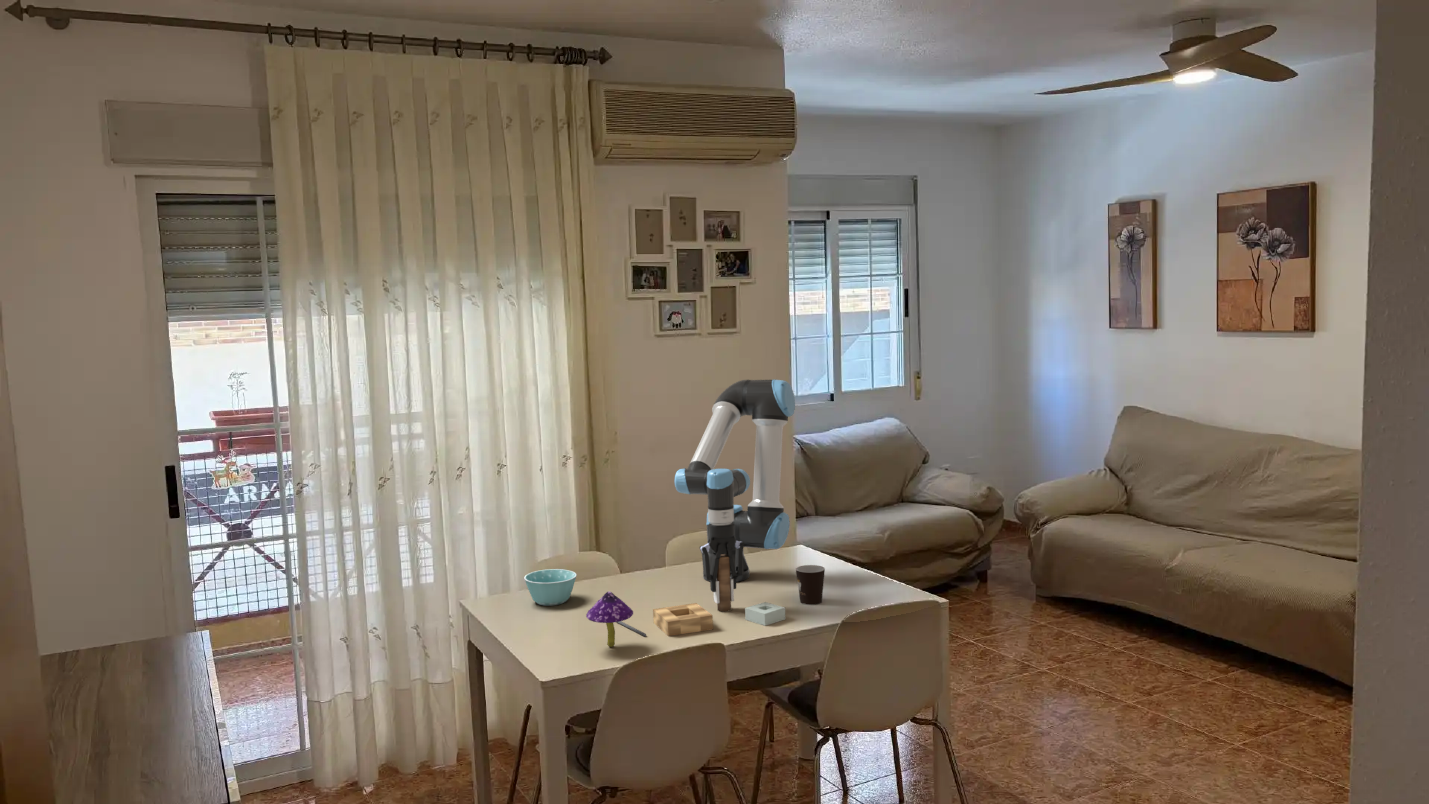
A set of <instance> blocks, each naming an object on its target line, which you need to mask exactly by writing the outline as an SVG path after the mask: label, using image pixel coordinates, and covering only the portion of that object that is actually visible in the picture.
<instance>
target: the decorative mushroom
mask: <svg viewBox="0 0 1429 804" xmlns="http://www.w3.org/2000/svg"><path fill="white" fill-rule="evenodd" d="M585 615H586V616H585V617H586V618H587V619H588V620H589V621H591V622H593V623H599V624H600V623H601V624H605V625H606V629H607V646H608V647H610V648H612V647H614V646H615V645H616V644H615V641H616V629H615V624H614V623H617V622H620V621H622V622H623V621H626V620H629V619H630V618H632V616H633V615H634V611H633V609H632V608H631V607H630V606H628V605H627V604H626V602H624V601H623V600H622V599H621V598H619V597H618V596H616V595H615V593H613V592H612V591H606V592H605V593H604V594H603V595H602V597H600V598H599V599H598V600H597V601H595V603H594V604H593V606H591V608H590V609H589V610H588V611H587V613H586V614H585Z"/></svg>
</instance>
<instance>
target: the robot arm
mask: <svg viewBox="0 0 1429 804" xmlns="http://www.w3.org/2000/svg"><path fill="white" fill-rule="evenodd" d="M795 408H796V397H795V393H794V390H793V387H792V385H791V384H790V383H789V382H788V381H786V380H782V379H781V380H780V379H777V378H776V379H742V380H738V381H736V382H734V383H732V384H731V385H729V386H728V387H727V388H725V389H724V390H723V391H722V392H721V393H720V394H719V395H718V397H717V398H716V399H715V402H714V403H713V405H712V408H711V412H712V415H711V417H710V419H709V421H708V424H707V426H706V428H705V430H704V433H703V435H702V437H701V439H700V441H699V444H698V445H697V448H696V449H695V452H694V454H693V456H692V458H691V460H690V462H689V464H688V466H687V467H686V468H680V469H678V470H677V471H676V472H675V475H674V487H675V490H676V491H677V492H678V493H679V494H680V493H681V494H685V495H686V494H687V495H706V496H707V512H706V523H705V525H706V536H707V538H706V539H707V542H706V543H705V544H704V545H700V546H699V550H700V553H701V557H702V558H701V559H702V577H703V580H705V581H707V582H710V583H709V584H710V586H709V587H710V591H711V592H712V593H713V602H715V603H716V605H717V604H718V603H720V601H719V581H717V579H716V578H717V572H718V565H719V559H720V556H721V555H723V554H724V555H726V556H728V557H729V563H730V588H731V602H734V601H735V593H734V592H735V591H734V590H736V589H737V582H742V581H745V580H747V579H749V578H750V576H751V575H750V567H749V565H748V562H747V559H746V556H745V554H744V548H751V549H764V550H777V549H780V548H782V547H783V546H784V545H785V543H786V540H787V538H788V537H789V536H788V534H789V532H790V526H791V525H790V523H791V522H790V517H789V516H790V515H789V514H788V513H786V512H785V511H784V509H785V506H783V504H782V503H781V501H780V494H781V493H780V492H781V474H782V472H781V471H782V454H783V453H782V452H783V451H782V450H783V433H784V431H783V430H784V429H783V428H784V426H786V425H787V424H788V423H789V418H790V417H793V415H794V414H795V410H796V409H795ZM743 416H744V417H745V416H751V422H752V423H753V424H754V425H755V444H754V448H755V450H754V464H753V465H754V468H753V484H752V487H753V488H752V501H750V502H749V503H748V505H747V508H746V509H747V510H744V508H743V506H742V505H741V504H734V500H735V497H737V496H740V495H742V494H744V493H745V492H746V491H748V489H749V487H750V485H751V479H750V476H749V475H750V474H748V473H747V472H746V471H745V470H744V469H741V468H734V469H729V468H715V467H716V465H717V463H718V461H719V458H720V456H721V454H722V452H723V450H724V447H725V445H726V443H727V441H728V439H729V436H730V434H731V432H732V430H733V428H734V425H735V424H737V423H738V422H739V421H740V419H741V417H743Z"/></svg>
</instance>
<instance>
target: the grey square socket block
mask: <svg viewBox="0 0 1429 804" xmlns="http://www.w3.org/2000/svg"><path fill="white" fill-rule="evenodd" d="M744 613H745V616H744V617H745V618H744V619H745V621H748V622H752V623H755V624H757V625H761V626H764V627H767V626H769V625H772V624H774V623H775V624H776V623H778V622H781V621H784V620H786V607H784V606H781V605H778V604H774V603H771V602H767V601H765V602H764V601H763V602H761V603H758V604H753V605H750V606H747V607H745V608H744Z"/></svg>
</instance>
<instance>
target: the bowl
mask: <svg viewBox="0 0 1429 804" xmlns="http://www.w3.org/2000/svg"><path fill="white" fill-rule="evenodd" d="M577 575H578V574H577V573H576V572H575V571H573V570H568V569H562V568H561V569H560V568H555V569H554V568H552V569H550V568H548V569H542V570H535V571H532V572H529V573H527V574H526V575H525V576H523V577H524V578H523V579H524V582H525V584H526V587H527V590H528V593H529V594H530V596H531V598H532V600H533V602H535V603H536V604H537V605H539V606H546V607H547V606H548V607H550V606H551V607H552V606H558V605H561V604H564V603H566V602H567V601H568V600H569V599H570V598H571V595H572V591H573V588H574V586H575V582H576V579H577Z"/></svg>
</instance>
